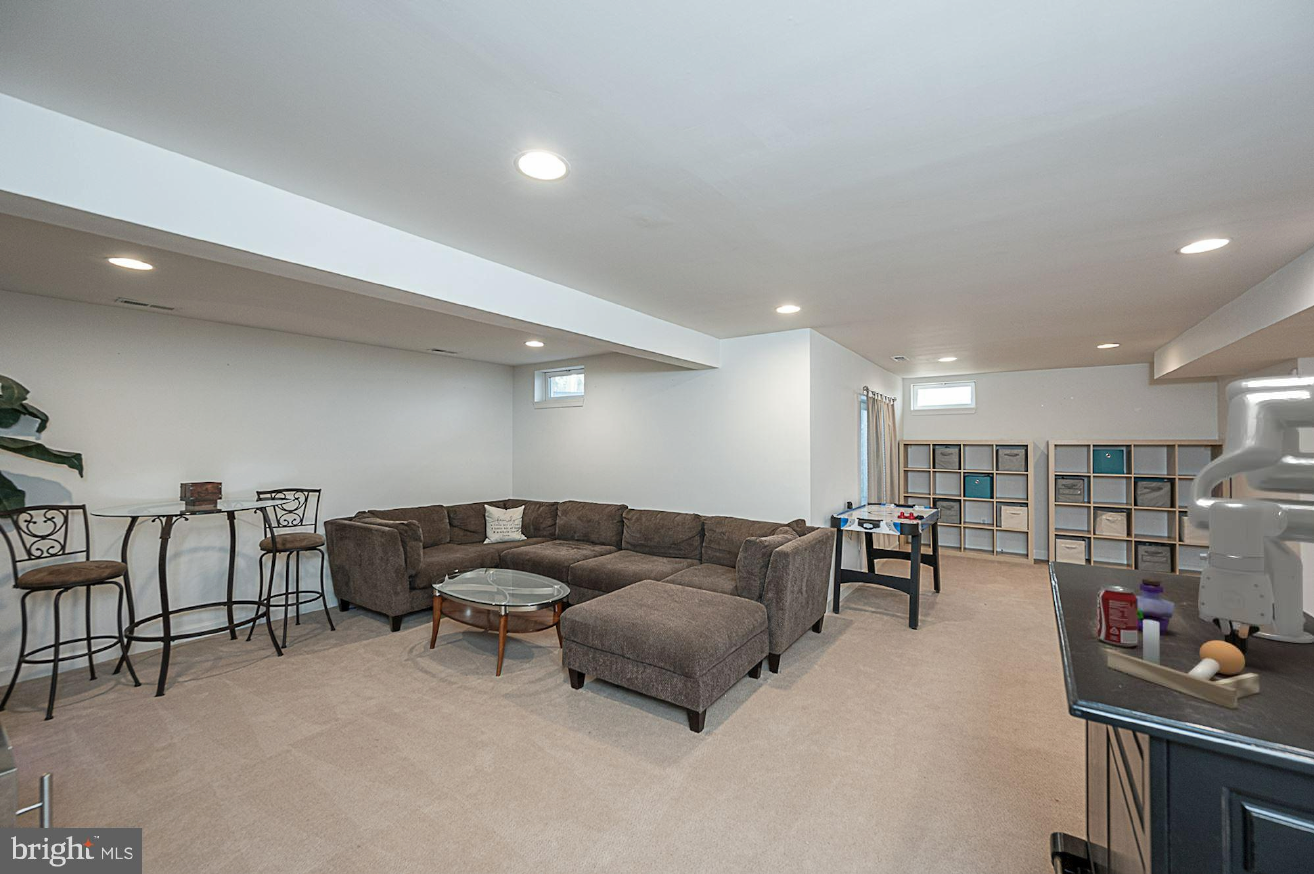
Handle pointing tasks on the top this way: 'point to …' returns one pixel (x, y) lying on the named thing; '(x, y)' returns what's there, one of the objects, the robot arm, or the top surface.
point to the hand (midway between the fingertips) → (1236, 654)
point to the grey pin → (1151, 641)
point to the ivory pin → (1205, 669)
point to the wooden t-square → (1188, 680)
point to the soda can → (1117, 616)
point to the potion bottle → (1153, 605)
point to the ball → (1223, 656)
